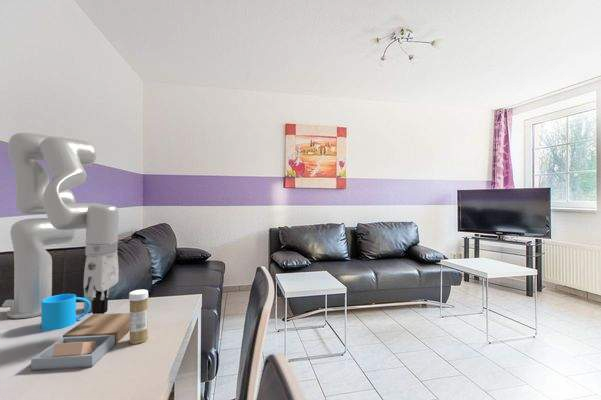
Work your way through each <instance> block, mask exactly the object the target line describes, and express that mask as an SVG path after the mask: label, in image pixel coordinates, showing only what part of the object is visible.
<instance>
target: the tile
mask: <svg viewBox="0 0 601 400" xmlns="http://www.w3.org/2000/svg"><path fill="white" fill-rule="evenodd" d="M95 344H96V341H88V342H70V343H61V344H55V345H54V350H53V354H52V356H66V355H81V354H86V353H92V352H93V351H94V349H95Z"/></svg>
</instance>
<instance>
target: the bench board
mask: <svg viewBox="0 0 601 400" xmlns="http://www.w3.org/2000/svg"><path fill="white" fill-rule="evenodd" d="M128 333H130V312H126V313H125V312H123V313H121V312H120V313H119V312H117V313H104V314H93V313H92V314H91V315H90V316H89V317H87V318H86V319H84V320H82V322H80V323H79V324H77V325H75V326H74V327H73V328H71V329H70V330H69V331H67V332H65V333H64V334H63V335H62V337H77V336H98V335H115V345H117V344H118V343H119V341H121V340H122V339H123V338H124V337H125V336H126V335H127V334H128Z"/></svg>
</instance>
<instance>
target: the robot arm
mask: <svg viewBox="0 0 601 400" xmlns="http://www.w3.org/2000/svg"><path fill="white" fill-rule="evenodd" d="M8 140H9V141H8V143H7V152H8V157H9V160H10V163H11V165H12V168H13V171H14V175H15V176H14V177H15V178H14V179H15V182H14V183H15V203H16V204H15V205H16V208H17V210H18V212H19V213H21V214H23V215H24V214H25V215H46V216H47V217H40V218H39V217H38V218H37V217H36V218H35V217H34V218H25V219H21V220H18V221H16V222H14V223H13V224H12V225H11V227H10V232H9V233H10V239H11V245H12V249H13V256H14V257H13V260H14V261H13V262H14V263H13V264H14V265H13V266H14V269H13V270H14V272H13V274H14V275H13V277H14V279H13V284H14V285H13V299H6V300H5V301H4V302H3V304H2V305H1V308H9V309H10V310H9V311H8V312H7V318H10V319H26V318H33V317H38V316H41V302H42V300H43V299H45V298H48V297H51V296H53V295H52V294H53V259H52V255H51V254H50V253H49V252H48V251H47V249H45V248H44V246H52V245H61V244H67V243H71V242H72V241H73V240H74V239H76V235H77V230H83V229H84V230H86V231H85V252H84V253H85V256H86V258H85V263H84V270H83V292H84V291H85V292H88V296H87V297H88V298H92V300H93V309H92V312H91V313H92V315H93V314H106V312H108V307H109V306H108V305H109V304H108V303H109V295H110V289H111V288H112V287H114V286H115V285H117V284H118V283H119V279H120V278H119V277H120V276H119V274H120V273H119V272H120V271H119V258H118V256H119V255H118V247H119V246H118V245H119V243H118V239H119V238H118V237H119V213H120V211H119V208H118V207H117V205H111V204H104V203H98V202H76V198H75V194H74V192H73V191H72V189H74V188H76V187H79V186H80V185H83V184H84V182H85V181H86V180H87V178H88V175H87V172H86V170H85V168H84V167H90V166H92V165H93V164H95V162H96V159H97V152H96V148H95V147H94V146H93V145H92V144H91V143H90V142H89V141H85V140H79V139H74V138H68V137H62V136H52V135H47V134H46V135H45V134H42V133H41V134H40V133H33V132H19V133H14V134H12V136H11V137H10V139H8ZM40 161H44V163H45V165H46V167H47V169H48V170H47V169H46V168H45V167H44V166H43V164H42V163H41V162H40ZM50 176H51V179H52V180H51V181H50Z"/></svg>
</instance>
